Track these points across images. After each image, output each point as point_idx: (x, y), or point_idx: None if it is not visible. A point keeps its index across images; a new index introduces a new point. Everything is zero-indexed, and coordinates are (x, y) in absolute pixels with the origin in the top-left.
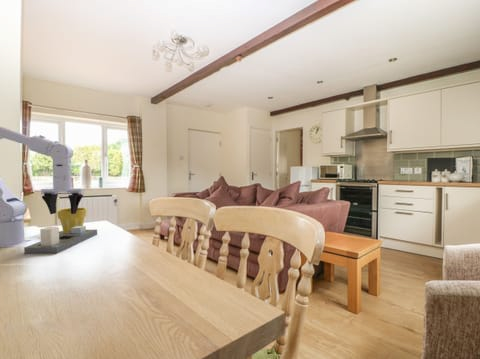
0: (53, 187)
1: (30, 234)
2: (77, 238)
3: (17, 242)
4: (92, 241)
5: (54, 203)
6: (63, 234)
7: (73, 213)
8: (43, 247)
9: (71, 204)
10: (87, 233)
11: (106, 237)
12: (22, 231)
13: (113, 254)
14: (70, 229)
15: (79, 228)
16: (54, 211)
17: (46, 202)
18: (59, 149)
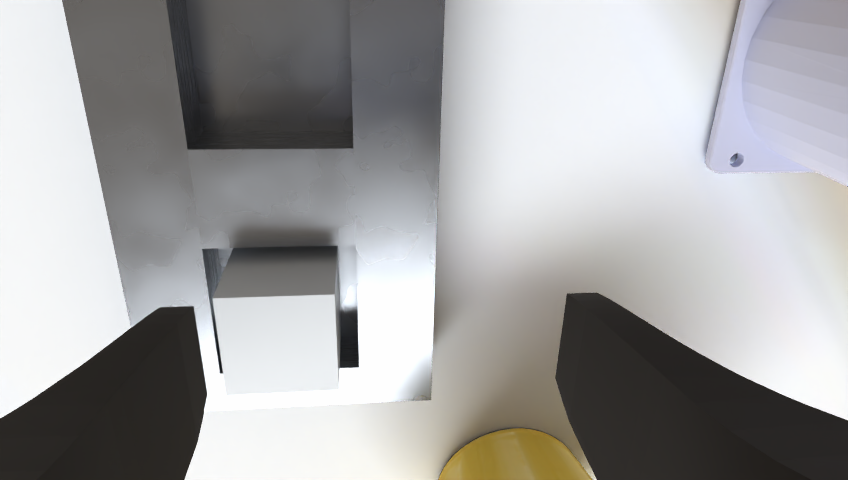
0: None
1: (831, 398)
2: (67, 16)
3: (775, 14)
4: (47, 163)
5: None
6: (387, 207)
7: (150, 317)
8: None
9: (71, 413)
10: (121, 248)
11: (12, 313)
12: (825, 102)
13: None
14: (496, 456)
15: (226, 294)
16: (570, 373)
17: (783, 404)
18: None
